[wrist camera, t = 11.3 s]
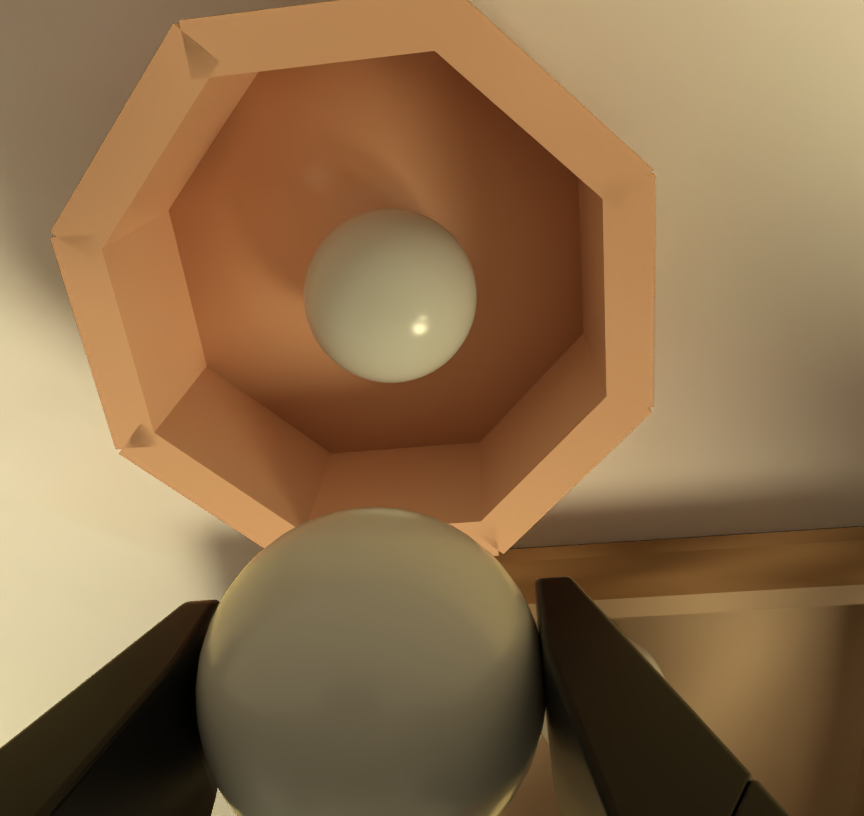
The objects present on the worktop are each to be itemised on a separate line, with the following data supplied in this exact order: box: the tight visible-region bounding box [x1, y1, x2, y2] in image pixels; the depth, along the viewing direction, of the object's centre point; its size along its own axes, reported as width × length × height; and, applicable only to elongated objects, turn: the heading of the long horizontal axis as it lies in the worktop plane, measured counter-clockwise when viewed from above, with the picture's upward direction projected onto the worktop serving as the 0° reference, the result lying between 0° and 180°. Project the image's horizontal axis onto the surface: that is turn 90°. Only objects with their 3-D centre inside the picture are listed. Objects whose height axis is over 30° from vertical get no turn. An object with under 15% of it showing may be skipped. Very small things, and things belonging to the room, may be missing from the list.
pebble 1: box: [303, 208, 477, 383], centre depth 17 cm, size 4×4×4 cm
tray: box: [494, 527, 864, 816], centre depth 25 cm, size 17×16×2 cm
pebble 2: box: [195, 507, 546, 816], centre depth 8 cm, size 4×4×4 cm
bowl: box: [50, 0, 655, 556], centre depth 17 cm, size 11×11×4 cm
